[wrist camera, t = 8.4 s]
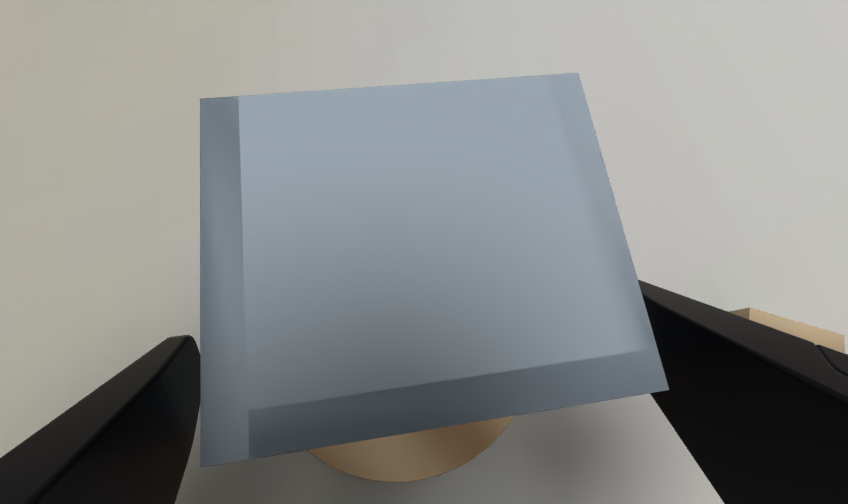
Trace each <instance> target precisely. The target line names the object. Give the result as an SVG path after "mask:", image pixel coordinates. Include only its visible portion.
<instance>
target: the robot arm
mask: <svg viewBox="0 0 848 504" xmlns="http://www.w3.org/2000/svg"><path fill="white" fill-rule="evenodd" d="M638 283H639V286H640V289H641V293H642V296H643V300H644V303H645V307H646V310H647V314H648V317H649V321H650V324H651V328H652V331H653V335H654V338H655V342H656V345H657V349H658V352H659V356H660V359H661V363H662V366H663V370H664V373H665V377H666V380H667V384H668V387H669V390H666V391H660V392H654V393H650V394H651V395H652V397H653V398H654V400H655V401H656V403H657V404H658V406H659V407H660V409H661V410H662V412H663V413H664V415H665V416H666V418H667V419H668V421H669V422H670V424H671V425H672V427H673V428H674V429H675V431H676V432H677V434H678V435H679V437H680V438H681V440H682V441H683V443H684V444H685V446H686V447H687V449H688V450H689V452H690V453H691V455H692V456H693V458H694V459H695V461H696V462H697V464H698V465H699V467H700V468H701V470H702V471H703V472H704V474H705V475H706V477H707V478H708V480H709V481H710V483H711V484H712V486H713V487H714V489H715V490H716V492H717V493H718V495H719V496H720V498H721V499H722V501H723V502H724V504H848V355H847V354H845V353H842V352H839V351H836V350H833V349H831V348H828V347H825V346H822V345H819V344H817V345H815V344H814V343H813V342H811V341H808V340H805V339H802V338H800V337H797V336H794V335H791V334H788V333H786V332H783V331H780V330H777V329H774V328H772V327H769V326H766V325H763V324H760V323H758V322H755V321H752V320H749V319H746V318H744V317H741V316H738V315H735V314H732V313H730V312H727V311H724V310H721V309H719V308H716V307H713V306H710V305H707V304H705V303H702V302H699V301H696V300H693V299H691V298H688V297H685V296H682V295H679V294H677V293H674V292H671V291H668V290H665V289H663V288H660V287H657V286H654V285H651V284H649V283H646V282H643V281H640V280H638ZM200 402H201V381H200V353H199V350H198V347H197V344H196V342H195V340H194V338H193V337H192V336H190V335H183V336H175V337H169V338H167V339H166V340H164V341H163V342H161V343H160V344H159V345H157V346H156V347H155V348H153V349H152V350H150V351H149V352H148V353H146V354H145V355H143V356H142V357H141V358H139V359H138V360H136V361H135V362H134V363H132V364H131V365H129V366H128V367H127V368H125V369H124V370H122V371H121V372H120V373H118V374H117V375H115V376H114V377H113V378H111V379H110V380H108V381H107V382H106V383H104V384H103V385H102V386H100V387H99V388H97V389H96V390H95V391H93V392H92V393H90V394H89V395H88V396H86V397H85V398H83V399H82V400H81V401H79V402H78V403H76V404H75V405H74V406H72V407H71V408H69V409H68V410H67V411H65V412H64V413H62V414H61V415H60V416H58V417H57V418H56V419H54V420H53V421H51V422H50V423H49V424H47V425H46V426H44V427H43V428H42V429H40V430H39V431H37V432H36V433H35V434H33V435H32V436H30V437H29V438H28V439H26V440H25V441H23V442H22V443H21V444H19V445H18V446H16V447H15V448H14V449H12V450H11V451H10V452H8V453H7V454H5V455H4V456H3V457H1V458H0V504H175V500H176V497H177V494H178V491H179V488H180V484H181V481H182V478H183V475H184V472H185V468H186V465H187V462H188V459H189V455H190V451H191V448H192V443H193V439H194V434H195V429H196V423H197V418H198V413H199V407H200Z"/></svg>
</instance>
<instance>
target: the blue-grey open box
mask: <svg viewBox="0 0 848 504" xmlns="http://www.w3.org/2000/svg"><path fill="white" fill-rule="evenodd" d="M200 381H201V467H207V466H213V465H219V464H225V463H231V462H237V461H243V460H249V459H255V458H261V457H267V456H273V455H279V454H285V453H291V452H298V451H304V450H310V449H316V448H322V447H328V446H334V445H340V444H346V443H352V442H358V441H364V440H370V439H376V438H382V437H388V436H394V435H400V434H406V433H412V432H418V431H424V430H430V429H436V428H443V427H449V426H455V425H461V424H467V423H473V422H479V421H485V420H491V419H497V418H503V417H509V416H515V415H521V414H527V413H533V412H539V411H545V410H551V409H557V408H563V407H569V406H575V405H581V404H588V403H594V402H600V401H606V400H612V399H618V398H624V397H630V396H636V395H642V394H648V393H654V392H660V391H666V390H669V387H668V384H667V380H666V377H665V373H664V370H663V366H662V363H661V359H660V356H659V352H658V349H657V345H656V342H655V338H654V335H653V331H652V328H651V324H650V321H649V317H648V314H647V310H646V307H645V303H644V300H643V296H642V293H641V289H640V286H639V283H638V279H637V276H636V272H635V269H634V265H633V262H632V258H631V255H630V251H629V248H628V244H627V241H626V237H625V234H624V230H623V227H622V223H621V220H620V216H619V213H618V209H617V206H616V202H615V199H614V195H613V192H612V188H611V185H610V182H609V178H608V175H607V171H606V168H605V164H604V161H603V157H602V154H601V150H600V147H599V143H598V140H597V136H596V133H595V129H594V126H593V122H592V119H591V115H590V112H589V108H588V105H587V101H586V98H585V94H584V91H583V88H582V84H581V81H580V77H579V74H578V73H569V74H554V75H539V76H525V77H510V78H496V79H481V80H466V81H452V82H437V83H423V84H408V85H393V86H379V87H364V88H350V89H335V90H321V91H306V92H291V93H277V94H262V95H248V96H233V97H218V98H204V99H200Z"/></svg>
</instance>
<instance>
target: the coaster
mask: <svg viewBox="0 0 848 504" xmlns="http://www.w3.org/2000/svg"><path fill="white" fill-rule="evenodd" d="M513 417H514V416H509V417H503V418H497V419H491V420H485V421H479V422H473V423H467V424H461V425H455V426H449V427H443V428H436V429H430V430H424V431H418V432H412V433H406V434H400V435H394V436H388V437H382V438H376V439H370V440H364V441H358V442H352V443H346V444H340V445H334V446H328V447H322V448H316V449H310V450H307V451H309V452H310V453H311V454H313V455H314V456H316V457H317V458H318V459H320V460H321V461H323V462H324V463H326V464H328V465H330V466H332V467H334V468H336V469H338V470H340V471H342V472H345V473H348V474H351V475H354V476H357V477H360V478H364V479H370V480H375V481H383V482H406V481H415V480H422V479H426V478H430V477H434V476H437V475H441V474H443V473H445V472H448V471H450V470H453V469H455V468H457V467H459V466H461V465H463V464H464V463H466V462H468V461H469V460H471V459H473V458H474V457H476V456H477V455H478V454H479V453H481V452H482V451H483V450H484V449H486V448H487V447H488V446H489V445H491V444H492V442H493V441H494V440H495V439H496V438H497V437H498V436H499V435H500V434H501V433H502V432H503V431H504V429H505V428H506V427H507V425H508V424H509V422H510V421H511V420H512V418H513Z"/></svg>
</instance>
